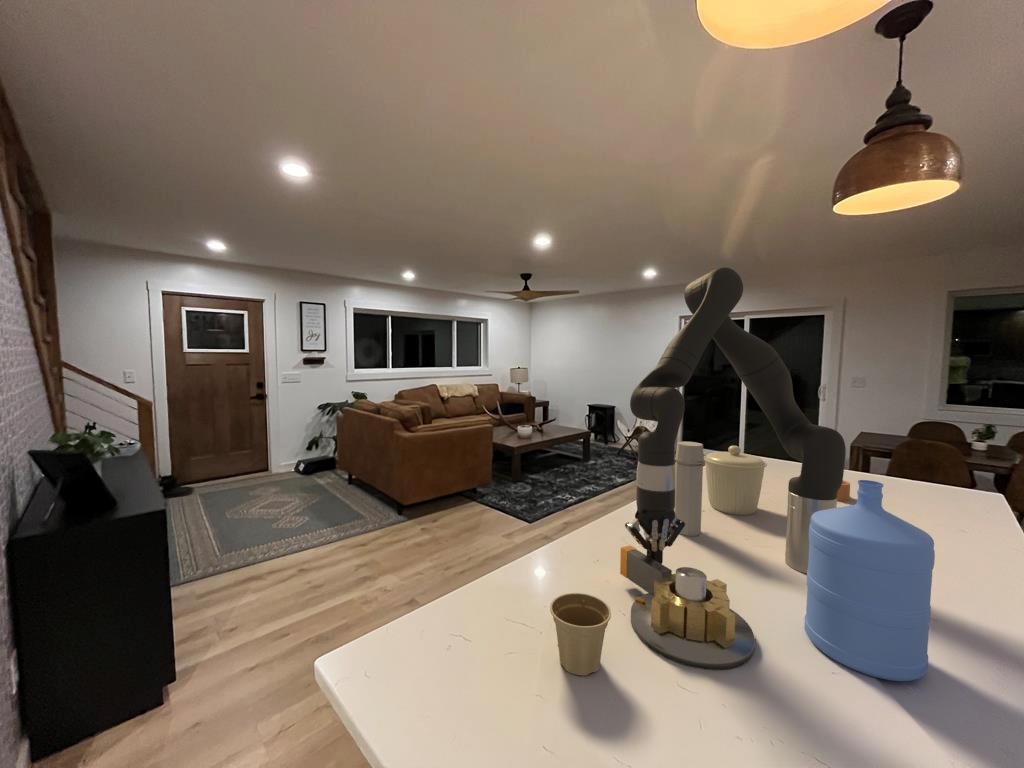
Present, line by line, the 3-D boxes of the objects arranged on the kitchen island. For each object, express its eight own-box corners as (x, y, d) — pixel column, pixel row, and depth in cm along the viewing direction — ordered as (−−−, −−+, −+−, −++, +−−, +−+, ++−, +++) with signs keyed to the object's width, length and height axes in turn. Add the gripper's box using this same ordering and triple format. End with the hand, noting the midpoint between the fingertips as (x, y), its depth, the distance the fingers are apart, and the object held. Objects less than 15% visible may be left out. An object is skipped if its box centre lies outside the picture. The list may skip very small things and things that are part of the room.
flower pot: (544, 643, 71) (545, 593, 70) (599, 640, 71) (600, 591, 71) (555, 686, 61) (556, 628, 61) (618, 682, 62) (619, 625, 62)
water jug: (893, 698, 60) (904, 503, 58) (783, 632, 74) (790, 475, 73) (948, 667, 66) (960, 490, 64) (837, 612, 80) (845, 467, 79)
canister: (765, 508, 138) (768, 444, 137) (764, 525, 123) (767, 454, 122) (705, 498, 148) (707, 438, 147) (697, 513, 133) (699, 447, 132)
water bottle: (694, 540, 112) (697, 447, 111) (666, 531, 118) (669, 443, 117) (709, 531, 118) (712, 443, 117) (682, 523, 124) (685, 439, 123)
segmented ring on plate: (627, 570, 92) (628, 543, 92) (752, 619, 75) (753, 585, 74) (585, 598, 81) (586, 567, 80) (720, 663, 64) (722, 624, 63)
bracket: (852, 506, 141) (853, 486, 141) (822, 503, 145) (823, 483, 144) (836, 491, 158) (837, 473, 158) (810, 488, 161) (810, 471, 161)
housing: (731, 603, 83) (733, 553, 82) (775, 678, 63) (778, 613, 63) (626, 592, 86) (627, 545, 86) (637, 660, 67) (638, 598, 66)
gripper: (635, 492, 81) (634, 579, 82) (695, 486, 84) (694, 571, 85) (617, 481, 88) (616, 561, 89) (673, 476, 91) (672, 554, 92)
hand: (654, 566), depth 87 cm, fingers closed
